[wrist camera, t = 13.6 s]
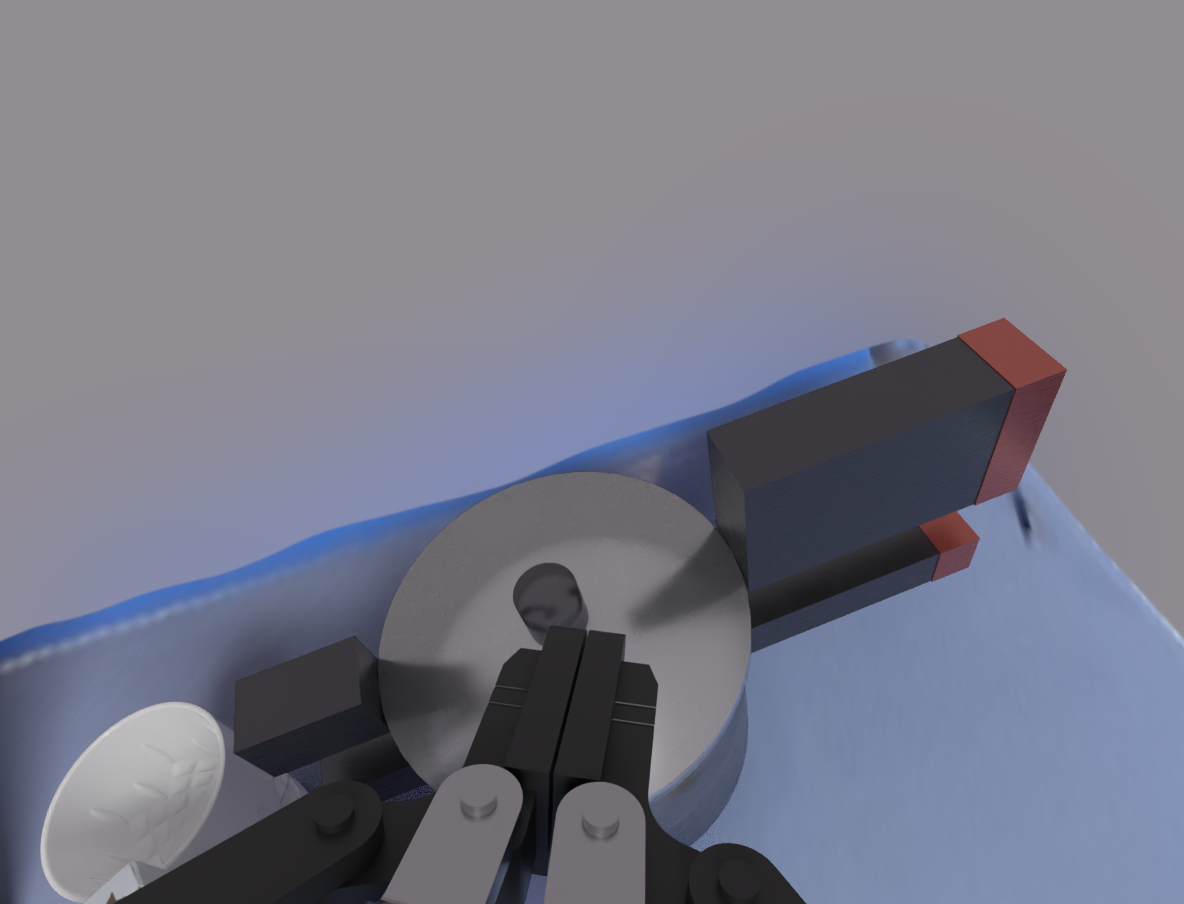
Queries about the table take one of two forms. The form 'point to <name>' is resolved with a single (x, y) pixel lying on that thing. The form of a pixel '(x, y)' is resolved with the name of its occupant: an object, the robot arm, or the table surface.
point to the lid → (661, 560)
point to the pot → (772, 620)
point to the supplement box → (126, 882)
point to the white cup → (153, 798)
